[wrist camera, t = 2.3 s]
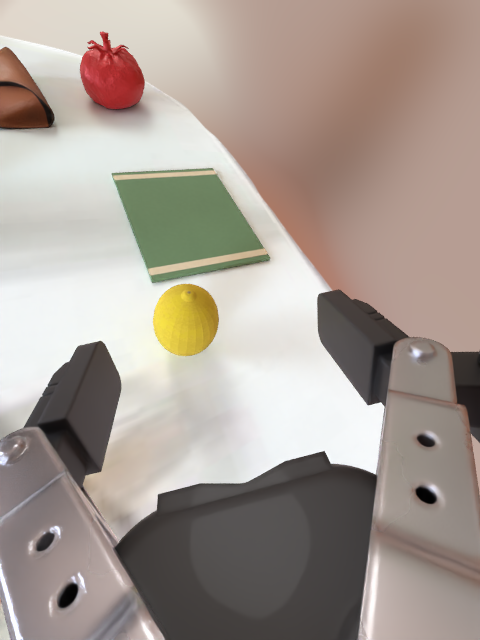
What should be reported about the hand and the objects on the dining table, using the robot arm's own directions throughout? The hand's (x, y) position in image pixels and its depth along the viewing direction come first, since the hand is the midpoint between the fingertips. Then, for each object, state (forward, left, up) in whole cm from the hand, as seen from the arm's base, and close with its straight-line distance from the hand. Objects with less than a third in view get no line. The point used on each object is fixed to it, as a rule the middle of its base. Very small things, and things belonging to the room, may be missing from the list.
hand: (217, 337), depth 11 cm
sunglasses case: (-38, +44, -17) cm, 61 cm away
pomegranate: (-25, +53, -17) cm, 61 cm away
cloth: (-6, +27, -16) cm, 33 cm away
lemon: (-2, +8, -17) cm, 19 cm away
